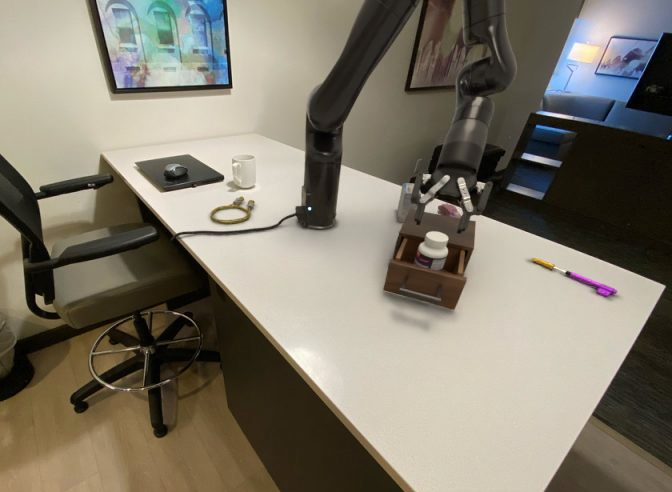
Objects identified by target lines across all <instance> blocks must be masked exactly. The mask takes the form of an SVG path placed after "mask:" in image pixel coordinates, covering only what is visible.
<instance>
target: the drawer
mask: <svg viewBox="0 0 672 492" xmlns="http://www.w3.org/2000/svg"><path fill="white" fill-rule="evenodd" d="M422 242H425V241H421V240H417V239H412V238H407V237H404V239H403V242H402V244H401V247H400V249H399V251H398V254H397V256H396V259H395V260H392V259H393V258H392V259H390V260H389V263H388V267H387V272H386V275H385V278H384V279H385V280H384V284H383V287H382V291H383V292H387V293H391V294H394V295H397V296H398V295H399V296H402V297H405V298H409V299H412V300H416V301H418V302H419V301H420V302H424V303H427V304H431V305H434V306H437V307H442V308H445V309H449V310H452V311H455V310H456V307H457V305H458V303H459V301H460V299H461V297H462V296H461V295H462V293H463V291H464V288H465V286H466V284H467V280H468V277H467V276H464V274H463V266H464V257H465V250H463V249H459V248H454V247H449V246H446V247H447V249H448V254H447V257H446V260H445V263H444V266H443V268H442V271H438V270H434V269H429V268H425V267H421V266H417V265H414V261H415V258H416V255H417V251H418V248H419V245H420V244H421V243H422ZM462 274H463V276H462Z"/></svg>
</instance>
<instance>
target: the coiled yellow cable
mask: <svg viewBox="0 0 672 492" xmlns="http://www.w3.org/2000/svg"><path fill="white" fill-rule="evenodd" d="M244 201H245V198H244V197H243V196H239V197H237V198H235V199H234V200H233V201H232V203H231V204H229V205H221V206H218V207H216V208H214V209H213V210H212V211H211V212H210V218H211V219H212V220H213V221H214V222H216V223H219V224H227V225H230V224H240V223H242V222H245V221H246V220H247V219H249V218H250V216H251V210H252V209H253V208H254V205H255V204H256V202H255V200H254V199H249V200H248V201H247V209H246V208H244V207H242V206H239V205H240V204H242V202H244ZM224 209H240V210H242V211H244V212H245V213H247V214H246V215H245V216H243V217H240V218H235V219H217V218H215V217H214V213H216V212H217V211H220V210H224Z"/></svg>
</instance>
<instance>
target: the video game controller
mask: <svg viewBox="0 0 672 492" xmlns="http://www.w3.org/2000/svg"><path fill="white" fill-rule="evenodd" d="M437 214H439V215H444V216H450V217H455V218H460V219H461V217H462V214H461V213H460V212H459V211H458V209H457V206H455V205H453V204H449V203H448V202H446V203H442V204H440V205H438V206H437Z"/></svg>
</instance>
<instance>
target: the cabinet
mask: <svg viewBox="0 0 672 492" xmlns="http://www.w3.org/2000/svg"><path fill="white" fill-rule="evenodd" d="M415 213H416V210H412V209H410V210H409V212H408V214H407V216H406V218H405V220H404V222H402V225H401V227H400V229H399V231H398V235H397V238H396V241H395V247H394V251H393V256H392V260H395V259H396V256H397V254H398V251H399V249H400V247H401V244H402V242H403V239H404V237H407V238H412V239H417V240H421V241H425V237H426V234H427V233H428V232H432V231H435V232H441V233H443V234H445V235H447V236H448V242H447V245H446V246H449V247H454V248H459V249H463V250H465V257H464V266H463V274H462V276H463V277H464V274H465V272H466V269H467V267H468V265H469V263H470V260H471V257H472V255H473V253H474V250H475V242H476V241H475V240H476V239H475V238H476V226H477V225H476V223H477V221H476V220H472V219H470V220H469V224H468V227H467V229H466V230H465V231H462V232H461V234H458V233H457V230H458V227H459V223H460V220H461V219H460V218H455V217H450V216H444V215H440V214H438V213H432V212H428V211H424V213H423V217H422V220H421V223H420V225H416V223H417V222H415V221H414V217H415Z"/></svg>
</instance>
